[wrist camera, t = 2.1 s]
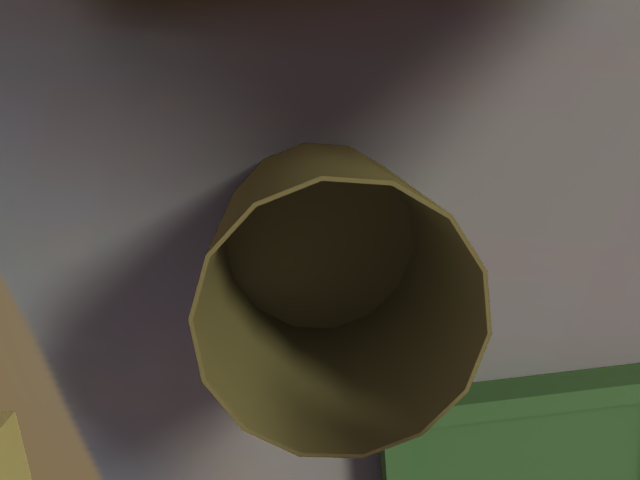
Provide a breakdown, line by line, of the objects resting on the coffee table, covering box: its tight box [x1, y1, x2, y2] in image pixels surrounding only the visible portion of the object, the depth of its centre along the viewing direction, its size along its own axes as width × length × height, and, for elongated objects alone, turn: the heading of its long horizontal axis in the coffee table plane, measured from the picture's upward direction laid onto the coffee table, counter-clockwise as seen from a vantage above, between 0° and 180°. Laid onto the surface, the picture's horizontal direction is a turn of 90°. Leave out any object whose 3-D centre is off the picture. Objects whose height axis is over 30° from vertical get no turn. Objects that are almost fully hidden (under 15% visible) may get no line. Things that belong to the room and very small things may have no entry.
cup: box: [188, 143, 492, 458], centre depth 21 cm, size 8×8×10 cm
